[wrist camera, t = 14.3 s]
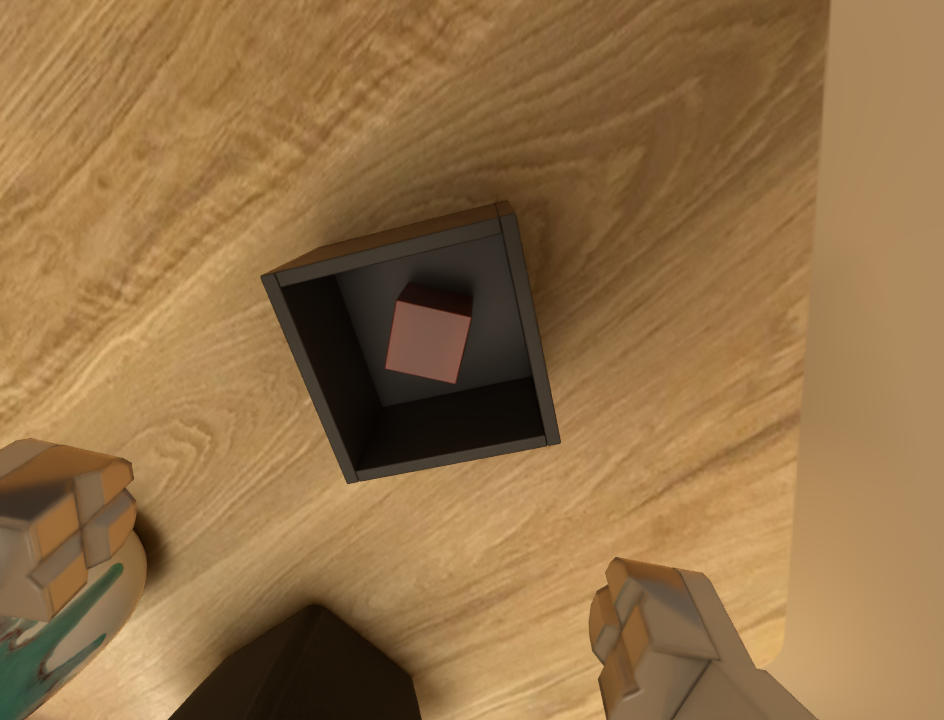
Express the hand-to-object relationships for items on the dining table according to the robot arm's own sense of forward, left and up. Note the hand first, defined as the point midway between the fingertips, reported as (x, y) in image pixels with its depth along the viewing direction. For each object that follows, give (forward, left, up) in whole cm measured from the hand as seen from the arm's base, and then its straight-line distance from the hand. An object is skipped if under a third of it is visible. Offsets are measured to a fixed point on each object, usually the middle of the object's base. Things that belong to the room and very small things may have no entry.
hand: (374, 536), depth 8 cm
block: (+2, +3, -21) cm, 21 cm away
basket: (+2, +3, -21) cm, 22 cm away
